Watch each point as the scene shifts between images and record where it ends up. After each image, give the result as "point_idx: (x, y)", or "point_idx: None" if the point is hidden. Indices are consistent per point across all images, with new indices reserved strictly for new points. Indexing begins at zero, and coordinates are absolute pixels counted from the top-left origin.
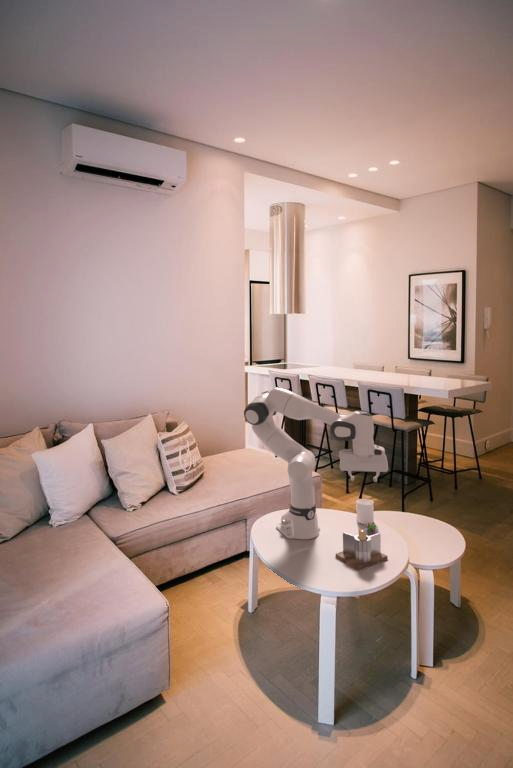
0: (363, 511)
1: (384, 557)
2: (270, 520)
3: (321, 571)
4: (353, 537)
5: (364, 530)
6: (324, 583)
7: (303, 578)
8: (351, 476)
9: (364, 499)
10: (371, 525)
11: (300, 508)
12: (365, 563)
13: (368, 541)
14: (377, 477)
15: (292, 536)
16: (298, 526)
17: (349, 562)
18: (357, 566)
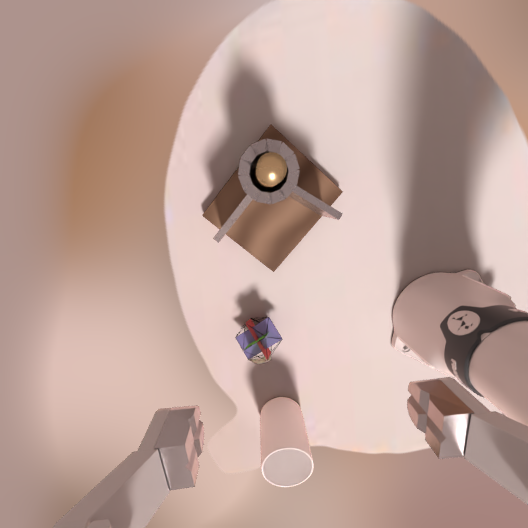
0: (287, 426)
1: (209, 206)
2: None
3: (371, 93)
4: (302, 189)
5: (263, 172)
6: (358, 17)
7: (419, 33)
8: (489, 420)
9: (290, 483)
10: (258, 361)
11: (526, 321)
12: None
13: (245, 151)
14: (127, 458)
15: (465, 274)
16: (472, 289)
17: (300, 153)
18: (276, 130)
